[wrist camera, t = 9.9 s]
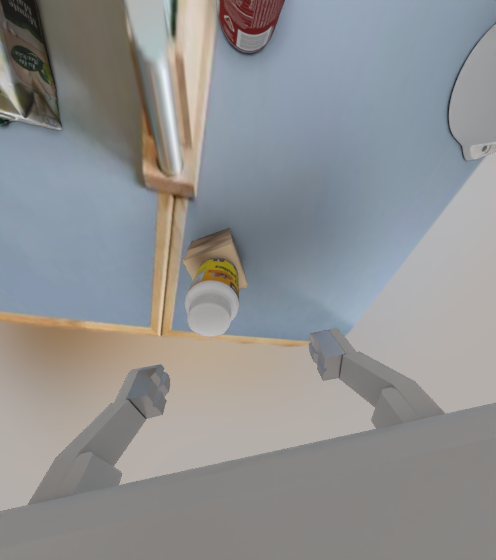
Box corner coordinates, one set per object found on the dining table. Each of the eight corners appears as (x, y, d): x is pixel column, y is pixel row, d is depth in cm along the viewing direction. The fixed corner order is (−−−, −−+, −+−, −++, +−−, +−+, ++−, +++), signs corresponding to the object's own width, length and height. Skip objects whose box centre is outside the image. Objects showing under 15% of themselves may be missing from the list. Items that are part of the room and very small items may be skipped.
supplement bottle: (246, 274, 26) (252, 322, 17) (218, 297, 28) (210, 352, 19) (218, 246, 24) (208, 283, 15) (189, 272, 25) (164, 320, 16)
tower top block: (230, 235, 28) (231, 243, 24) (244, 273, 32) (247, 286, 28) (187, 250, 28) (182, 261, 24) (206, 286, 32) (204, 301, 28)
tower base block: (228, 227, 32) (230, 234, 28) (241, 262, 35) (244, 272, 32) (191, 241, 32) (187, 249, 28) (208, 274, 36) (206, 286, 32)
